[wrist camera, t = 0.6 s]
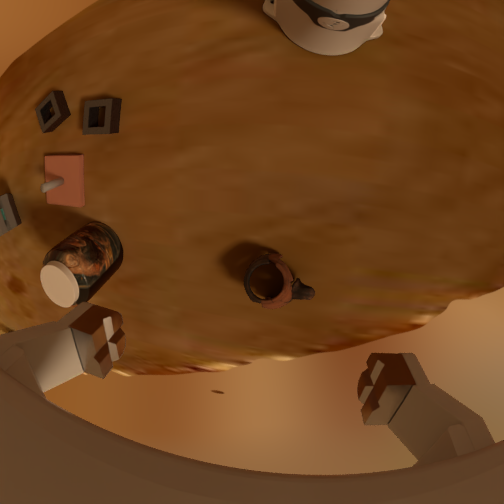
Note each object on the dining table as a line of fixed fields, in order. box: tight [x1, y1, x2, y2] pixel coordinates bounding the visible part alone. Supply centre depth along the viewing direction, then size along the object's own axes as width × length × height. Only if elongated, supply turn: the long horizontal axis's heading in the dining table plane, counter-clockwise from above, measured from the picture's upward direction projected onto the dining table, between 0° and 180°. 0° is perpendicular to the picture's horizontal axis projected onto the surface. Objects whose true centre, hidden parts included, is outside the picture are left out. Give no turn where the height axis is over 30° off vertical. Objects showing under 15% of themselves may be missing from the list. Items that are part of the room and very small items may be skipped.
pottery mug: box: [244, 253, 315, 309], centre depth 47 cm, size 12×10×8 cm
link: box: [83, 98, 122, 135], centre depth 38 cm, size 6×6×3 cm
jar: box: [40, 222, 123, 307], centre depth 44 cm, size 12×12×15 cm
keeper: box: [41, 154, 85, 207], centre depth 42 cm, size 10×10×7 cm
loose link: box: [35, 91, 71, 133], centre depth 37 cm, size 6×6×3 cm
